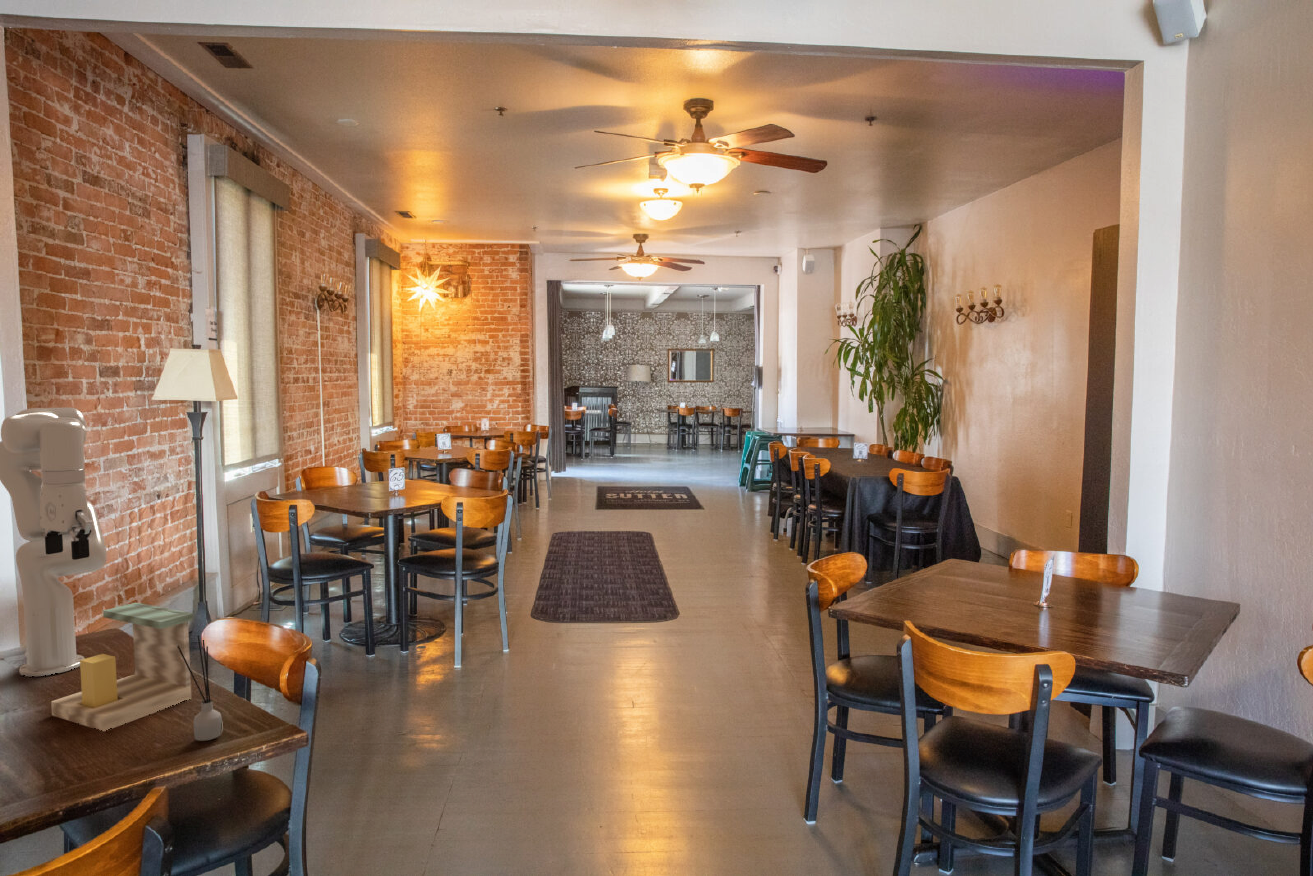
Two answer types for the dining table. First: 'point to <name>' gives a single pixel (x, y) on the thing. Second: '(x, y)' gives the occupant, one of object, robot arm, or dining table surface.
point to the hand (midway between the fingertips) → (67, 555)
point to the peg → (98, 680)
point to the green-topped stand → (141, 670)
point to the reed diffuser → (205, 707)
